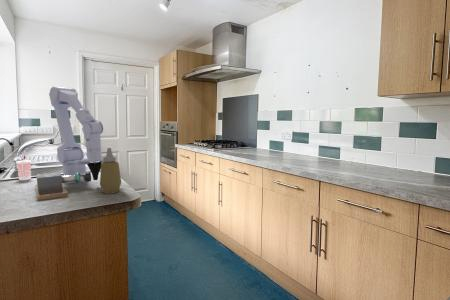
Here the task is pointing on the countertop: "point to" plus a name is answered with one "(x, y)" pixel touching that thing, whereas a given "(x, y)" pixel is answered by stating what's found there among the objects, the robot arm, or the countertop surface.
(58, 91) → the robot arm
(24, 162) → the beverage cup
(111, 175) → the squeeze bottle
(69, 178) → the shaft
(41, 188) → the sharpening stone
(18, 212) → the countertop surface
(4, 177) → the countertop surface
